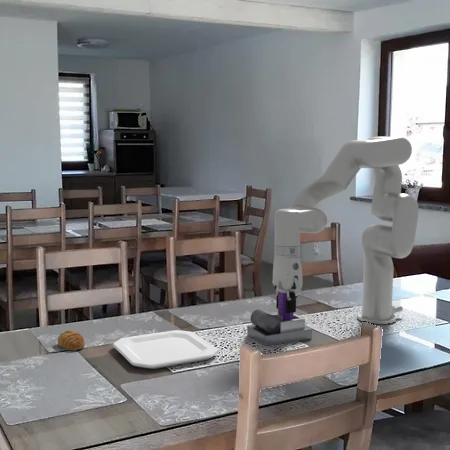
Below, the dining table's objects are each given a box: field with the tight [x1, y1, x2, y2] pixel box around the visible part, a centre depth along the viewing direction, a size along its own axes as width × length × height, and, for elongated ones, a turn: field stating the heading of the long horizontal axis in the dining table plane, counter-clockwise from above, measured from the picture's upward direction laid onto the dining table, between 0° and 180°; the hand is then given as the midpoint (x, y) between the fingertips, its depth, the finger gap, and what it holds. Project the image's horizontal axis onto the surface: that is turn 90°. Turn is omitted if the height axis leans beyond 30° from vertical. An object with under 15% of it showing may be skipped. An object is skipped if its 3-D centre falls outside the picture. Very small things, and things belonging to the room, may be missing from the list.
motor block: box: [246, 309, 313, 347], centre depth 184 cm, size 16×11×8 cm
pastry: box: [57, 330, 86, 351], centre depth 175 cm, size 9×7×4 cm
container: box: [277, 281, 295, 321], centre depth 184 cm, size 5×5×15 cm
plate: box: [112, 329, 219, 370], centre depth 171 cm, size 25×25×2 cm
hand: (286, 309), depth 185 cm, fingers closed on container, 4 cm apart
